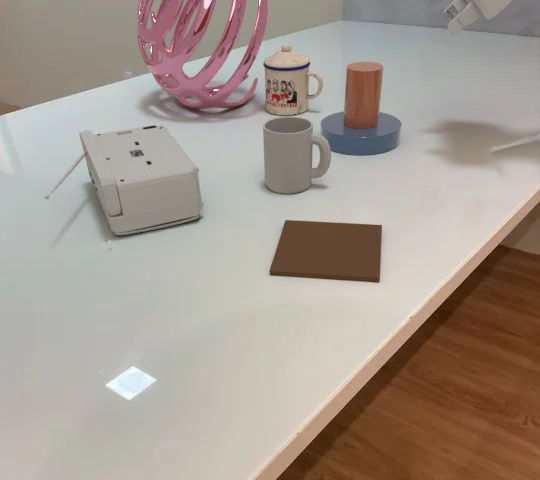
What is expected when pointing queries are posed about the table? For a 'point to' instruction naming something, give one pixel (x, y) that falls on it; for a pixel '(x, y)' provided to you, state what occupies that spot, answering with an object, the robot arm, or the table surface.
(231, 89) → the spiral basket
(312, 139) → the cup
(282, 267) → the mat
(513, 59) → the table surface
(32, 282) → the table surface
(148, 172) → the radio
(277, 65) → the teacup with lid
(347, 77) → the orange upright cylinder
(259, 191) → the table surface
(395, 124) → the stand
